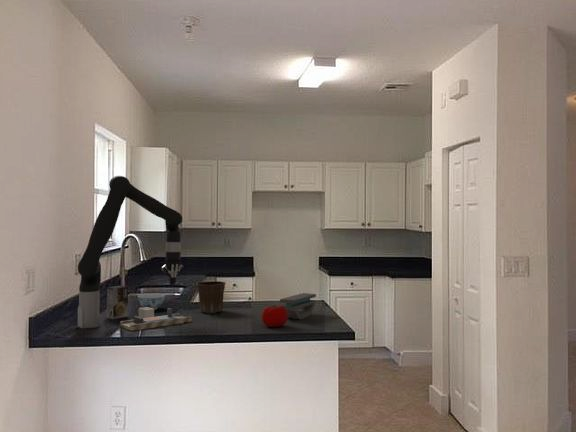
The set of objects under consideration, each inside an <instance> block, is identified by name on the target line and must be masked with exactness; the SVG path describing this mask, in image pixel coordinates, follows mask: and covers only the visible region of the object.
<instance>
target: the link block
mask: <svg viewBox="0 0 576 432" xmlns="http://www.w3.org/2000/svg"><path fill="white" fill-rule="evenodd" d="M138 317H140V318H148V317H155V310H154V309H153V308H149V307H139V308H138Z"/></svg>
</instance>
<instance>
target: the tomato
mask: <svg viewBox="0 0 576 432" xmlns="http://www.w3.org/2000/svg"><path fill="white" fill-rule="evenodd" d="M287 317H288V316H287V311H286V309H285V308H284V307H281V305H279V306H278V305H277V304H275V305H271V306H267V307H265V308H264V309H263V310H262V312H261V320H262V323H263V325H265V326H266V327H269V328H279V327H283V326H284V325H285V324H286V323H287V321H288V318H287Z"/></svg>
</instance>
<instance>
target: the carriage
mask: <svg viewBox="0 0 576 432" xmlns="http://www.w3.org/2000/svg"><path fill="white" fill-rule="evenodd" d="M166 311H167V314H166V315H165V314H163V315H158V316H157V317H156V316H154V317H148V318H143V323H148V322H155V321H162V320H169V319H176V318H177V317H174V316H172V314H173V308H172V307H171V308H170V307H169V308H167V310H166Z"/></svg>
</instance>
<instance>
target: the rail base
mask: <svg viewBox="0 0 576 432" xmlns="http://www.w3.org/2000/svg"><path fill="white" fill-rule="evenodd" d="M172 316H174V317H177V318H176V319H169V320H162V321H155V322H148V323H143V318H140V317H139V316H137V315H134V316H133V319H128V320H121V321H120V320H119V321H120V322H119V328H121V329H125V330H129V331H131V332H132V331H140V330H146V329H154V328H159V327H166V326H172V325H173V324H174V325H177V324H178V325H180V324H185V323H184V322H187V323H192V322H191V321H193V320H192V316H183V315H181V313H172ZM155 317H157V316H155ZM179 323H180V324H179Z"/></svg>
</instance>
